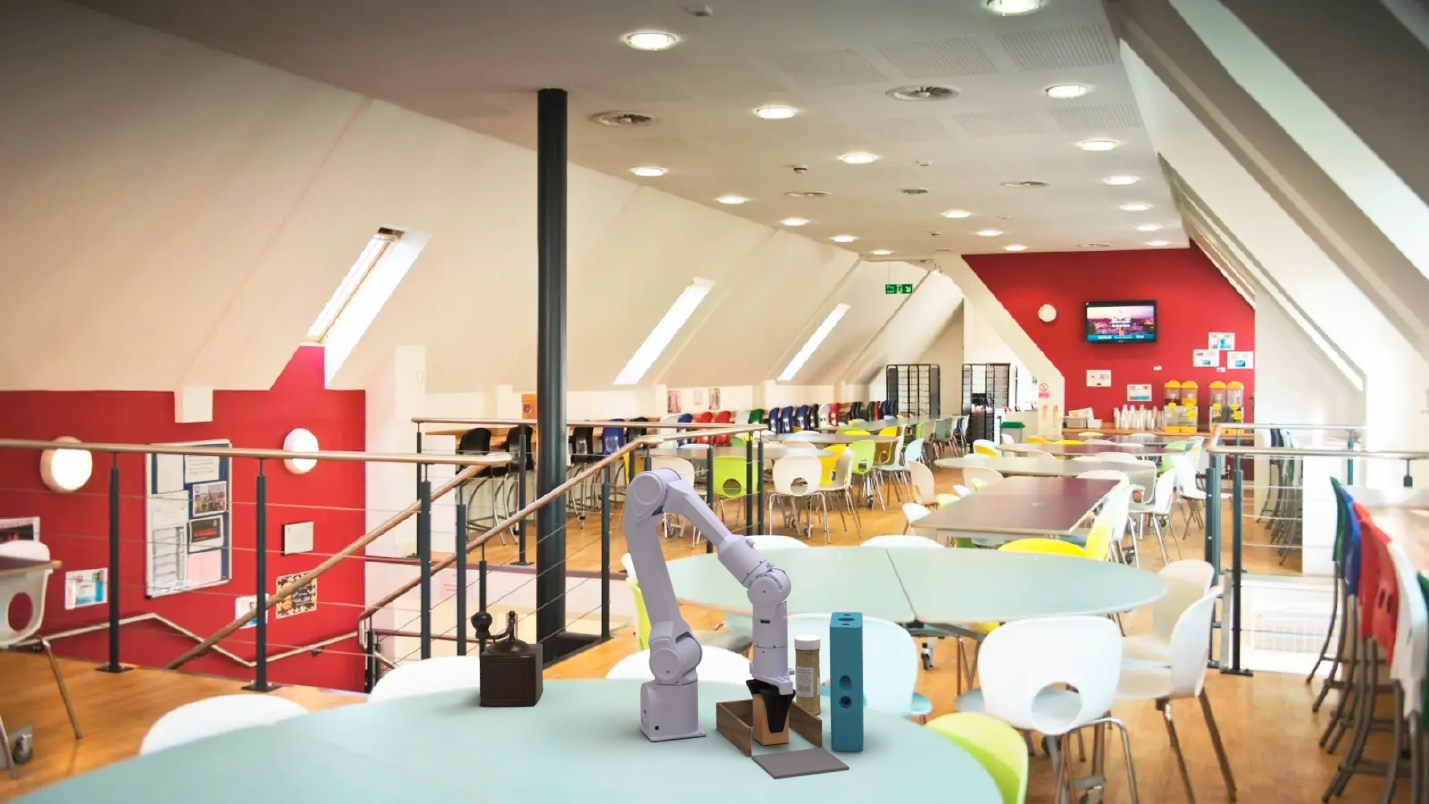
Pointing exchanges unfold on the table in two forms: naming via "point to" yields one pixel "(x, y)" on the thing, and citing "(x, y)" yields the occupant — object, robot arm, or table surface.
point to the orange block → (766, 724)
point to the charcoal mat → (799, 762)
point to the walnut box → (739, 719)
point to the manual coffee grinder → (508, 666)
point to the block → (846, 681)
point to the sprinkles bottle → (808, 672)
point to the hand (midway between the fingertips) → (770, 727)
